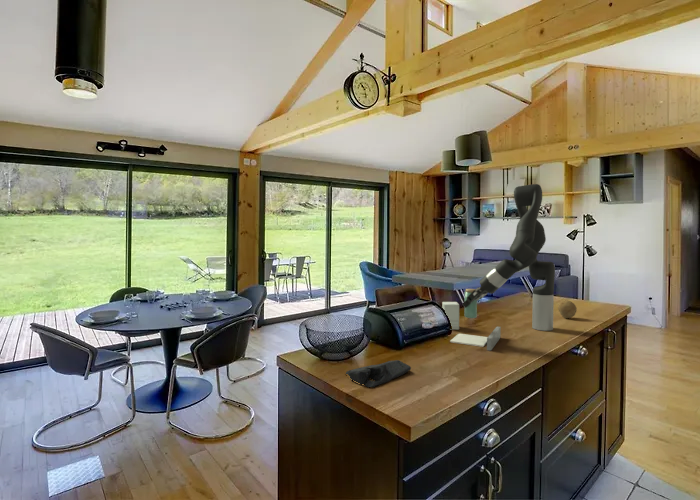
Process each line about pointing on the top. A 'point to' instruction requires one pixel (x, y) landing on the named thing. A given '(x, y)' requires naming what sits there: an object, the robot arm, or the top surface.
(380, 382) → the dark slate chunk
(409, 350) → the top surface
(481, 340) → the rubber mat
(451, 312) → the supplement box
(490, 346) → the low wall
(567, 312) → the natural sponge
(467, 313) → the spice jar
